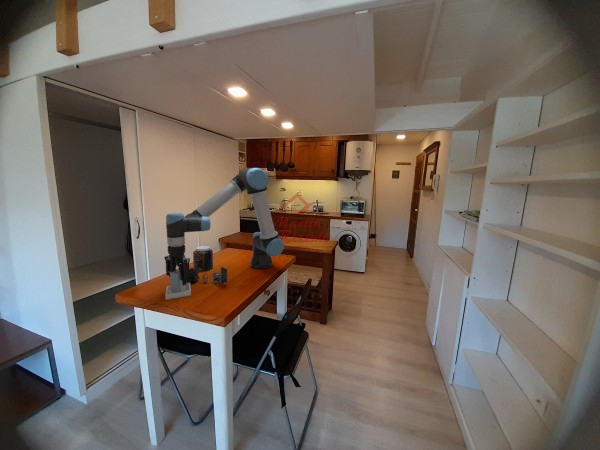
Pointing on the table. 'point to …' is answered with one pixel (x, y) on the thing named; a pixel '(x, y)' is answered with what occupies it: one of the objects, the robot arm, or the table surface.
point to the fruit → (193, 275)
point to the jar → (203, 259)
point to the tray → (177, 295)
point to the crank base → (205, 279)
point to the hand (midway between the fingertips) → (178, 289)
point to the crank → (221, 275)
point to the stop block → (175, 281)
